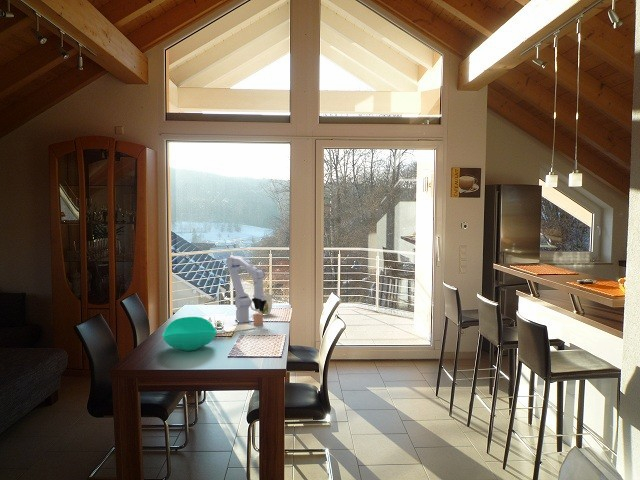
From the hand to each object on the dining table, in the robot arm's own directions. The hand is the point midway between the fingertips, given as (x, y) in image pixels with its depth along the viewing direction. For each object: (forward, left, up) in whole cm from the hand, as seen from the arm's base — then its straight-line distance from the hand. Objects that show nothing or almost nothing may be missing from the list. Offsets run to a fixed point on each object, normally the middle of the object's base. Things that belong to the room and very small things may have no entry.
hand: (259, 310), depth 316 cm
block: (-1, -1, -10) cm, 10 cm away
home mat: (+1, -16, -10) cm, 18 cm away
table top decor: (+30, -54, -10) cm, 62 cm away
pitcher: (-29, +15, -10) cm, 34 cm away
